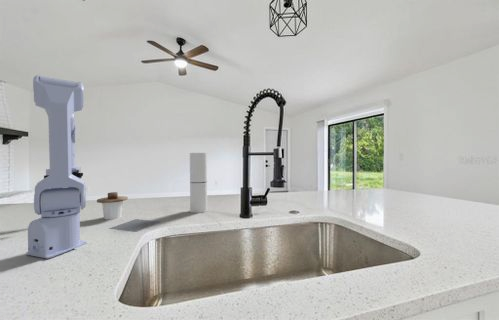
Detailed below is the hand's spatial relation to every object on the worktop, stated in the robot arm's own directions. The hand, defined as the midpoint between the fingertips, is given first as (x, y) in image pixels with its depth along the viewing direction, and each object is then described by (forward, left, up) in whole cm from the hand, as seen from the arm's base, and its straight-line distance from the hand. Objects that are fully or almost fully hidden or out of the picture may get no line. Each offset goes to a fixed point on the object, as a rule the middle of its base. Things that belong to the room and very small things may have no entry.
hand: (65, 194), depth 77 cm
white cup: (+10, -10, -11) cm, 18 cm away
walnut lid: (+10, -10, -3) cm, 15 cm away
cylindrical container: (+29, -36, -11) cm, 47 cm away
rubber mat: (+5, -26, -10) cm, 28 cm away
